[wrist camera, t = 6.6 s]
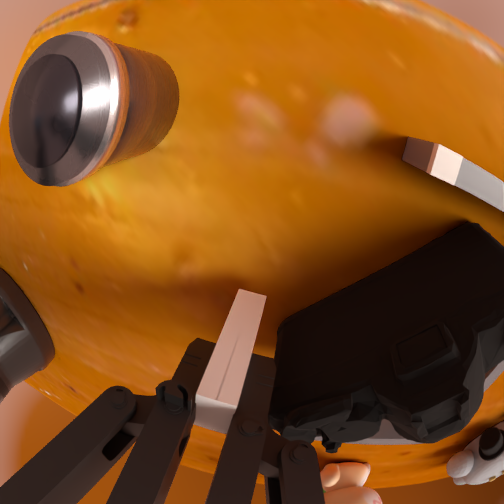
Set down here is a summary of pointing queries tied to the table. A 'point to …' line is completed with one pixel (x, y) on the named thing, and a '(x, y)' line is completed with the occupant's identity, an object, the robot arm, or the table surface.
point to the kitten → (347, 484)
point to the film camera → (395, 347)
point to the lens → (88, 107)
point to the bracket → (471, 180)
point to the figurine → (479, 458)
